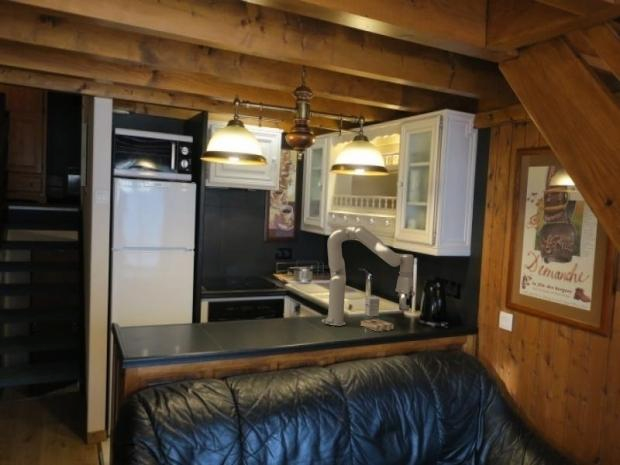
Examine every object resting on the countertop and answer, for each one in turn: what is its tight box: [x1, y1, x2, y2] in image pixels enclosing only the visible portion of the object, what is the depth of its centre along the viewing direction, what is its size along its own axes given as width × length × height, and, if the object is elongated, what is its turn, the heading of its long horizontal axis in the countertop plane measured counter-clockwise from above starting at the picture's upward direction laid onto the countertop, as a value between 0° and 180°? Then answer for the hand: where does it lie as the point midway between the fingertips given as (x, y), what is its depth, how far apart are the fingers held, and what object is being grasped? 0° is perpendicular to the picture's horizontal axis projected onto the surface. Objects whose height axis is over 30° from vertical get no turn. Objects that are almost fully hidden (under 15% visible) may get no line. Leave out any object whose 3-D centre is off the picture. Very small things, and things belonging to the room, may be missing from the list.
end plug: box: [398, 291, 410, 312], centre depth 299 cm, size 7×7×12 cm
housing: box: [360, 318, 394, 332], centre depth 300 cm, size 14×14×4 cm
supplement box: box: [364, 296, 380, 317], centre depth 333 cm, size 7×7×13 cm
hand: (404, 303), depth 299 cm, fingers closed on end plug, 6 cm apart
